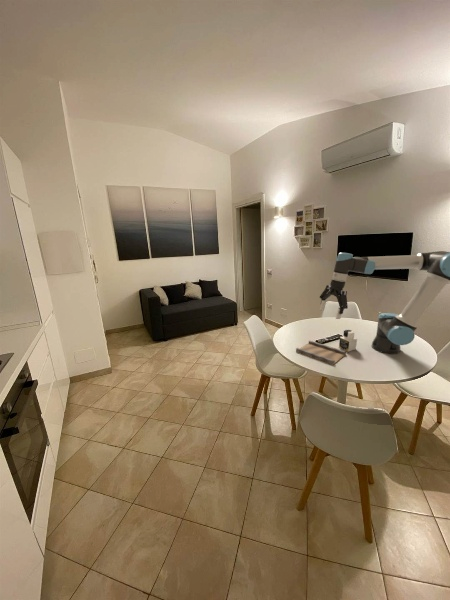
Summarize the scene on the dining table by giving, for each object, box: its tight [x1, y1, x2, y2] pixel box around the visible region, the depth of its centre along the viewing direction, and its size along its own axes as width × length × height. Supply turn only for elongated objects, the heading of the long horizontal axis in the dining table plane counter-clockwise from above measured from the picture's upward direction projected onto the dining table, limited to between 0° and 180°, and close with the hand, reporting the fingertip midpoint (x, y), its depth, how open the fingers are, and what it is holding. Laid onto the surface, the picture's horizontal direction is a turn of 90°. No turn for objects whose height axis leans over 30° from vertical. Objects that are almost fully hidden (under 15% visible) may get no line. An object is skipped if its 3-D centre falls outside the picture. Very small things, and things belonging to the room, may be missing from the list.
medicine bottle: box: [338, 329, 358, 352], centre depth 154 cm, size 7×7×12 cm
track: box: [295, 340, 347, 366], centre depth 150 cm, size 24×17×2 cm
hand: (329, 314), depth 145 cm, fingers open, 13 cm apart
